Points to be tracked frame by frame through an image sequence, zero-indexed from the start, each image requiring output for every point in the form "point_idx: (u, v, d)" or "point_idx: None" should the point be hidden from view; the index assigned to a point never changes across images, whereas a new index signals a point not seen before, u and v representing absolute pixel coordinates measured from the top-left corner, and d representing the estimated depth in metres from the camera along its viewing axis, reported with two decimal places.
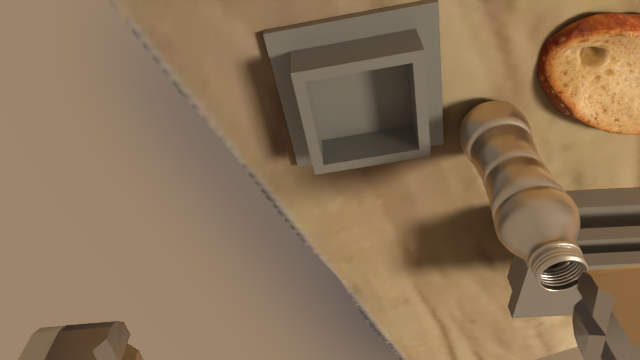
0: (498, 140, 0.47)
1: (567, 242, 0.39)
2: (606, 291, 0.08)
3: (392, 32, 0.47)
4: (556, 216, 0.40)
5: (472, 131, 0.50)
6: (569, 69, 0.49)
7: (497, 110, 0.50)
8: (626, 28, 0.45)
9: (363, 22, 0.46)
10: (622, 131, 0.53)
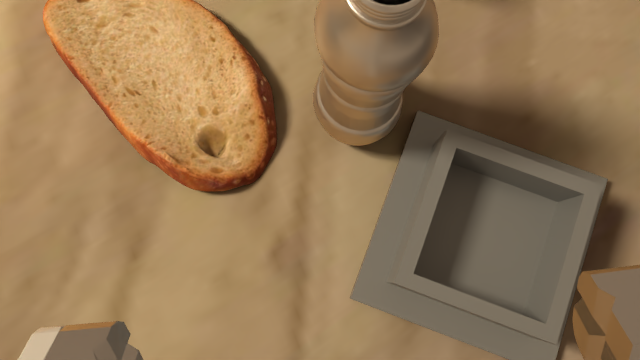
0: None
1: (357, 16, 0.24)
2: (606, 291, 0.08)
3: (412, 292, 0.39)
4: (351, 47, 0.26)
5: (382, 131, 0.38)
6: (241, 138, 0.40)
7: (342, 138, 0.39)
8: (169, 165, 0.39)
9: (437, 322, 0.39)
10: (210, 18, 0.41)
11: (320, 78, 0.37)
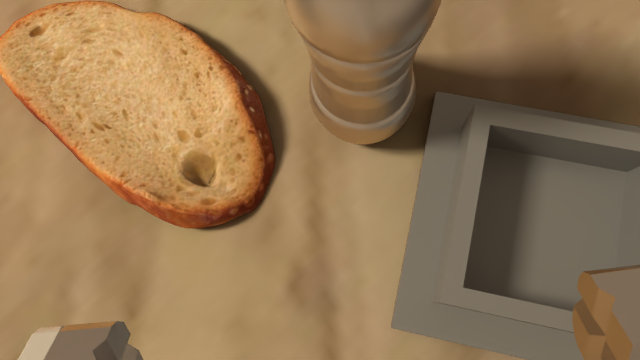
0: (367, 108, 0.29)
1: None
2: (606, 291, 0.08)
3: (465, 310, 0.32)
4: (330, 6, 0.19)
5: (397, 120, 0.31)
6: (232, 160, 0.34)
7: (350, 137, 0.32)
8: (152, 204, 0.33)
9: (502, 341, 0.31)
10: (179, 28, 0.36)
11: None
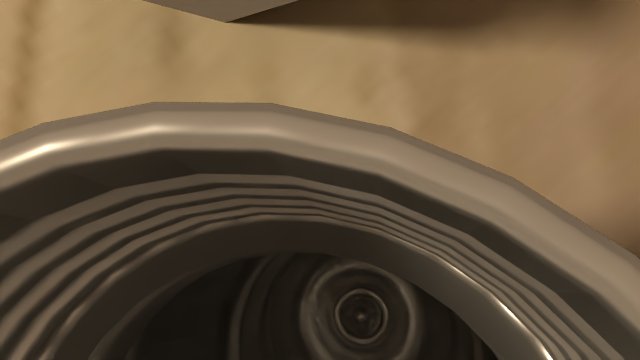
0: None
1: None
2: None
3: None
4: None
5: None
6: None
7: None
8: None
9: None
10: None
11: None
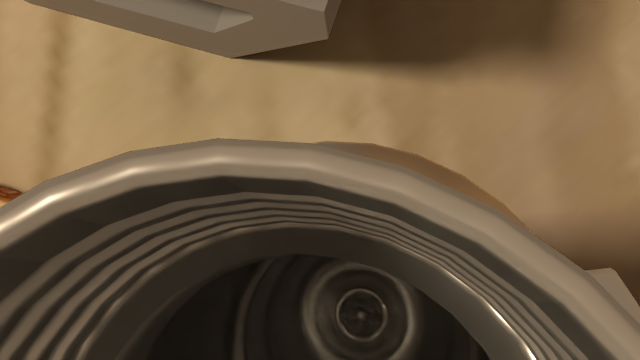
0: None
1: None
2: None
3: None
4: None
5: None
6: None
7: None
8: None
9: None
10: None
11: None
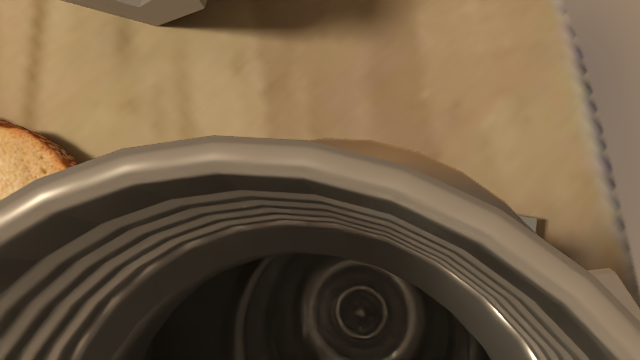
0: None
1: None
2: None
3: None
4: None
5: None
6: None
7: None
8: None
9: None
10: (39, 146, 0.36)
11: None
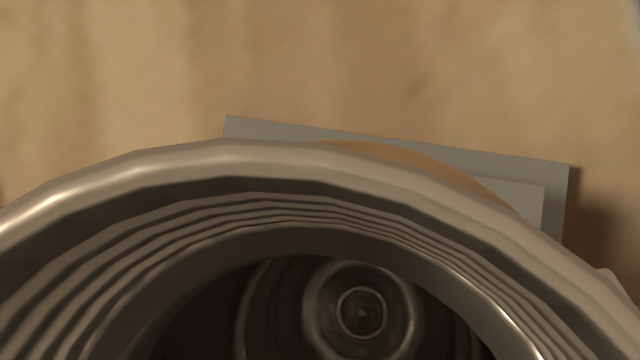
0: None
1: None
2: None
3: None
4: None
5: None
6: None
7: None
8: None
9: None
10: None
11: None
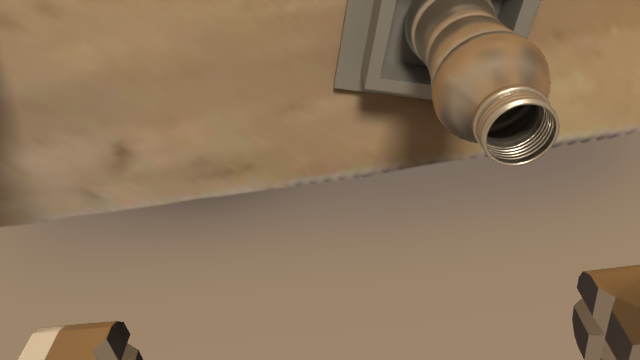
0: (422, 46, 0.38)
1: (483, 103, 0.27)
2: (606, 291, 0.08)
3: None
4: (463, 85, 0.29)
5: None
6: None
7: (408, 16, 0.40)
8: None
9: None
10: None
11: None
